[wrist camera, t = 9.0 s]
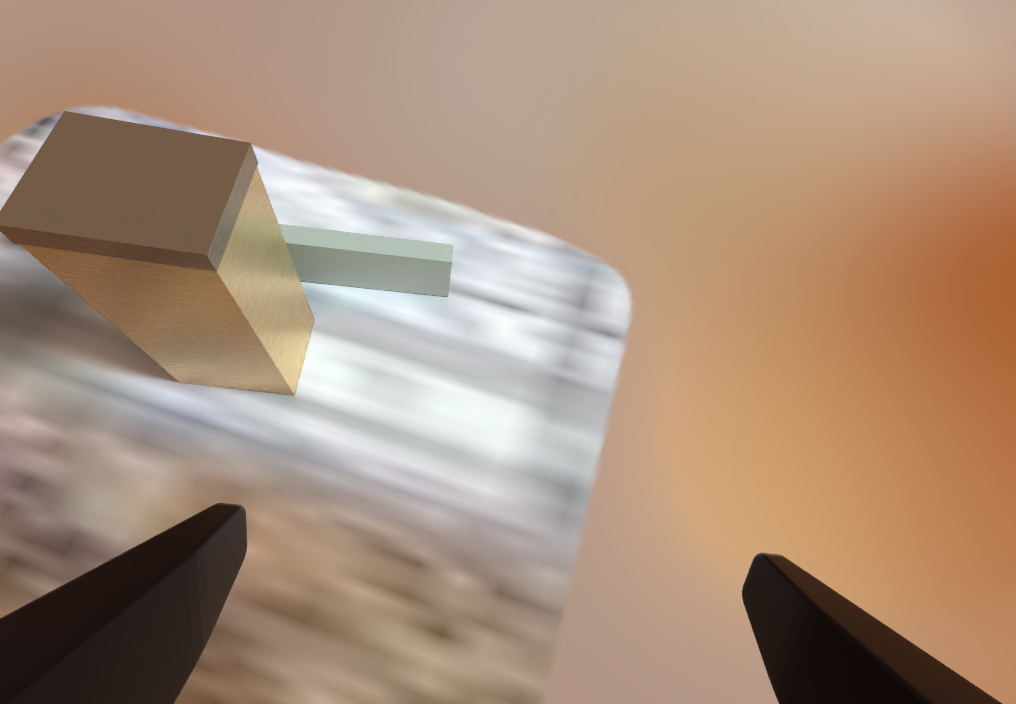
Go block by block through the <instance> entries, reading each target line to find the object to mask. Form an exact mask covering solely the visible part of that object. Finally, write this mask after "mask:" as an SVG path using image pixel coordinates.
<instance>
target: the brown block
mask: <svg viewBox="0 0 1016 704" xmlns="http://www.w3.org/2000/svg"><path fill="white" fill-rule="evenodd" d="M257 165H258V162H257V159H256V156H255V153H254V151H253V148H252V145H251V143H248V142H242V141H236V140H231V139H225V138H219V137H213V136H207V135H201V134H195V133H190V132H184V131H178V130H172V129H166V128H160V127H154V126H149V125H143V124H137V123H131V122H125V121H119V120H113V119H108V118H102V117H96V116H90V115H84V114H78V113H72V112H67V111H64V112H63V114H62V116H61V117H60V119H59V120H58V122H57V123H56V125H55V126H54V128H53V130H52V131H51V133H50V134H49V136H48V137H47V139H46V141H45V142H44V144H43V145H42V147H41V148H40V150H39V151H38V153H37V155H36V156H35V158H34V159H33V161H32V162H31V164H30V165H29V167H28V169H27V170H26V172H25V173H24V175H23V176H22V178H21V180H20V181H19V183H18V184H17V186H16V187H15V189H14V190H13V192H12V194H11V195H10V197H9V198H8V200H7V201H6V203H5V205H4V206H3V208H2V209H1V211H0V231H1V232H2V233H3V234H4V235H5V236H6V237H8V238H9V239H10V240H11V241H12V242H13V243H15V244H20V245H21V246H22V247H24V248H25V249H26V250H27V251H28V252H29V253H31V254H32V255H33V256H34V257H35V258H36V259H38V260H39V261H40V262H41V263H42V264H43V265H44V266H46V267H47V268H48V269H49V270H50V271H51V272H53V273H54V274H55V275H56V276H57V277H58V278H60V279H61V280H62V281H63V282H64V283H65V284H66V285H68V286H69V287H70V288H71V289H72V290H73V291H75V292H76V293H77V294H78V295H79V296H80V297H81V298H83V299H84V300H85V301H86V302H87V303H88V304H90V305H91V306H92V307H93V308H94V309H95V310H97V311H98V312H99V313H100V314H101V315H102V316H103V317H105V318H106V319H107V320H108V321H109V322H110V323H112V324H113V325H114V326H115V327H116V328H117V329H118V330H120V331H121V332H122V333H123V334H124V335H125V336H127V337H128V338H129V339H130V340H131V341H132V342H134V343H135V344H136V345H137V346H138V347H139V348H140V349H142V350H143V351H144V352H145V353H146V354H147V355H149V356H150V357H151V358H152V359H153V360H154V361H155V362H157V363H158V364H159V365H160V366H161V367H162V368H164V369H165V370H166V371H167V372H168V373H169V374H171V375H172V376H173V377H174V378H175V379H176V380H177V381H179V382H180V383H189V384H198V385H207V386H216V387H225V388H233V389H242V390H251V391H260V392H269V393H278V394H287V395H295V393H296V389H297V386H298V382H299V378H300V374H301V370H302V367H303V363H304V359H305V355H306V351H307V347H308V344H309V340H310V336H311V332H312V328H313V325H314V321H315V319H314V317H313V314H312V311H311V309H310V306H309V303H308V301H307V298H306V295H305V293H304V290H303V287H302V285H301V282H300V279H299V277H298V274H297V272H296V269H295V266H294V264H293V261H292V258H291V256H290V253H289V250H288V248H287V245H286V242H285V240H284V237H283V234H282V232H281V229H280V226H279V224H278V221H277V218H276V216H275V213H274V211H273V208H272V205H271V203H270V200H269V197H268V195H267V192H266V189H265V187H264V184H263V181H262V179H261V176H260V173H259V171H258V168H257Z"/></svg>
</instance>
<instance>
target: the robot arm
mask: <svg viewBox="0 0 1016 704" xmlns="http://www.w3.org/2000/svg"><path fill="white" fill-rule="evenodd" d="M246 550H247V528H246V511H245V508H244V507H243V506H242V505H238V504H227V503H217V504H215V505H213V506H211V507H209V508H207V509H205V510H203V511H201V512H199V513H198V514H196V515H194V516H192V517H190V518H188V519H186V520H184V521H183V522H181V523H179V524H177V525H175V526H173V527H171V528H169V529H168V530H166V531H164V532H162V533H160V534H158V535H156V536H154V537H152V538H151V539H149V540H147V541H145V542H143V543H141V544H139V545H137V546H136V547H134V548H132V549H130V550H128V551H126V552H124V553H122V554H121V555H119V556H117V557H115V558H113V559H111V560H109V561H107V562H105V563H104V564H102V565H100V566H98V567H96V568H94V569H92V570H90V571H89V572H87V573H85V574H83V575H81V576H79V577H77V578H75V579H74V580H72V581H70V582H68V583H66V584H64V585H62V586H60V587H58V588H57V589H55V590H53V591H51V592H49V593H47V594H45V595H43V596H42V597H40V598H38V599H36V600H34V601H32V602H30V603H28V604H27V605H25V606H23V607H21V608H19V609H17V610H15V611H13V612H11V613H10V614H8V615H6V616H4V617H2V618H0V704H174V702H175V701H176V699H177V697H178V695H179V693H180V692H181V690H182V688H183V686H184V685H185V683H186V681H187V679H188V678H189V676H190V674H191V672H192V671H193V669H194V667H195V665H196V663H197V661H198V660H199V658H200V656H201V654H202V652H203V650H204V648H205V646H206V644H207V642H208V640H209V637H210V635H211V633H212V631H213V629H214V626H215V624H216V622H217V620H218V617H219V615H220V613H221V610H222V608H223V606H224V604H225V601H226V599H227V597H228V595H229V592H230V590H231V588H232V585H233V583H234V581H235V579H236V576H237V574H238V572H239V570H240V567H241V565H242V563H243V560H244V558H245V555H246ZM742 597H743V602H744V605H745V609H746V612H747V614H748V617H749V620H750V623H751V626H752V629H753V632H754V635H755V638H756V641H757V644H758V647H759V650H760V653H761V656H762V659H763V662H764V665H765V667H766V670H767V673H768V676H769V679H770V681H771V684H772V687H773V690H774V692H775V695H776V697H777V699H778V702H779V704H1002V703H1000V702H999V701H997V700H996V699H995V698H993V697H992V696H990V695H989V694H987V693H986V692H984V691H983V690H981V689H980V688H978V687H977V686H975V685H974V684H972V683H970V682H969V681H968V680H966V679H965V678H963V677H962V676H960V675H959V674H957V673H956V672H954V671H953V670H951V669H950V668H948V667H947V666H945V665H944V664H943V663H941V662H940V661H938V660H937V659H935V658H933V657H932V656H931V655H929V654H928V653H926V652H925V651H923V650H922V649H920V648H919V647H917V646H915V645H914V644H913V643H911V642H910V641H908V640H907V639H905V638H904V637H902V636H901V635H900V634H898V633H896V632H895V631H893V630H892V629H891V628H889V627H888V626H886V625H885V624H883V623H882V622H880V621H879V620H877V619H876V618H874V617H873V616H871V615H870V614H868V613H867V612H865V611H864V610H862V609H861V608H859V607H858V606H856V605H855V604H854V603H852V602H851V601H849V600H848V599H846V598H845V597H843V596H842V595H840V594H838V593H837V592H836V591H834V590H833V589H831V588H830V587H828V586H827V585H825V584H824V583H822V582H821V581H819V580H818V579H816V578H815V577H813V576H812V575H810V574H809V573H808V572H806V571H804V570H803V569H802V568H800V567H799V566H797V565H796V564H794V563H793V562H791V561H790V560H788V559H786V558H785V557H784V556H781V555H778V554H769V553H759V554H757V555H756V556H755V557H754V559H753V561H752V564H751V567H750V569H749V572H748V575H747V577H746V580H745V583H744V585H743V590H742Z"/></svg>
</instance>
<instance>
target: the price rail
mask: <svg viewBox="0 0 1016 704" xmlns="http://www.w3.org/2000/svg"><path fill="white" fill-rule="evenodd" d="M279 226H280V229H281V232H282V234H283V237H284V240H285V242H286V245H287V248H288V250H289V253H290V256H291V258H292V261H293V264H294V266H295V269H296V272H297V274H298V277H299V279H300V281H304V282H313V283H323V284H332V285H342V286H351V287H360V288H370V289H379V290H389V291H398V292H408V293H417V294H426V295H436V296H445V297H448V291H449V282H450V273H451V265H452V254H453V245H450V244H442V243H433V242H425V241H417V240H408V239H400V238H392V237H384V236H375V235H367V234H359V233H350V232H342V231H334V230H326V229H317V228H309V227H301V226H292V225H284V224H279Z"/></svg>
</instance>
